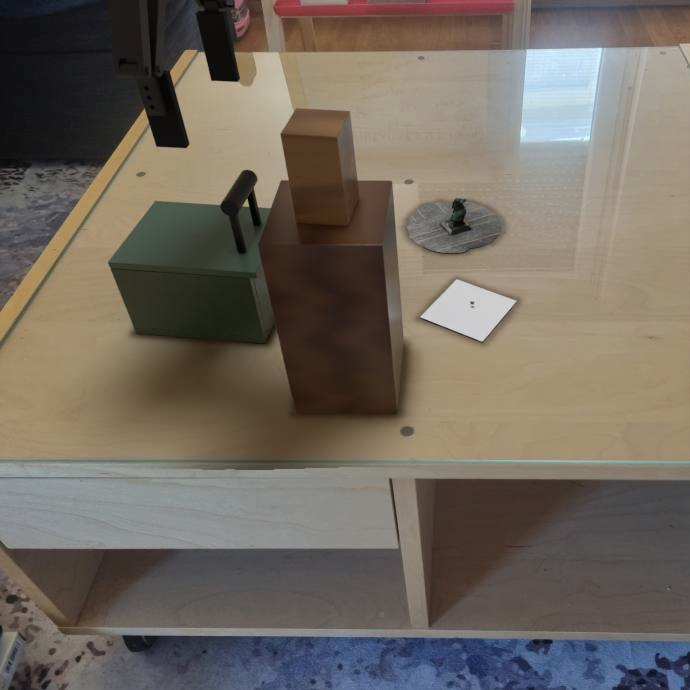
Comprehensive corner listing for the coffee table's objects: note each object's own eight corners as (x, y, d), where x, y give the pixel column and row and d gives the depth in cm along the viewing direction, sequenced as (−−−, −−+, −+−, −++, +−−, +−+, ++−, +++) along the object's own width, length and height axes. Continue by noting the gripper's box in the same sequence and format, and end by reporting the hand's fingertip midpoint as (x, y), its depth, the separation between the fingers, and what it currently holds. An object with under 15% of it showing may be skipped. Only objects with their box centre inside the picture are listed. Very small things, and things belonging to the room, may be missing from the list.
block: (348, 226, 61) (337, 136, 56) (296, 223, 62) (280, 133, 56) (359, 198, 64) (350, 110, 59) (310, 195, 65) (295, 107, 59)
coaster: (419, 317, 83) (419, 311, 83) (456, 279, 88) (456, 274, 88) (482, 341, 80) (482, 336, 80) (516, 301, 85) (517, 295, 85)
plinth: (295, 413, 73) (257, 244, 59) (311, 343, 80) (280, 179, 67) (397, 413, 73) (382, 245, 59) (404, 344, 80) (392, 180, 67)
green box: (295, 278, 89) (282, 215, 83) (265, 343, 80) (249, 278, 74) (177, 269, 90) (157, 207, 84) (135, 333, 82) (110, 268, 76)
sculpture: (515, 219, 99) (501, 198, 91) (486, 281, 98) (469, 266, 91) (439, 189, 103) (418, 167, 95) (411, 249, 102) (388, 232, 95)
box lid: (289, 215, 83) (279, 157, 78) (257, 278, 74) (242, 218, 70) (156, 206, 84) (138, 149, 79) (109, 268, 76) (86, 208, 71)
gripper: (104, -123, 46) (190, 181, 60) (236, -188, 64) (278, 58, 78) (-11, -126, 46) (101, 176, 61) (152, -189, 65) (209, 56, 79)
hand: (201, 110), depth 70 cm, fingers open, 13 cm apart
